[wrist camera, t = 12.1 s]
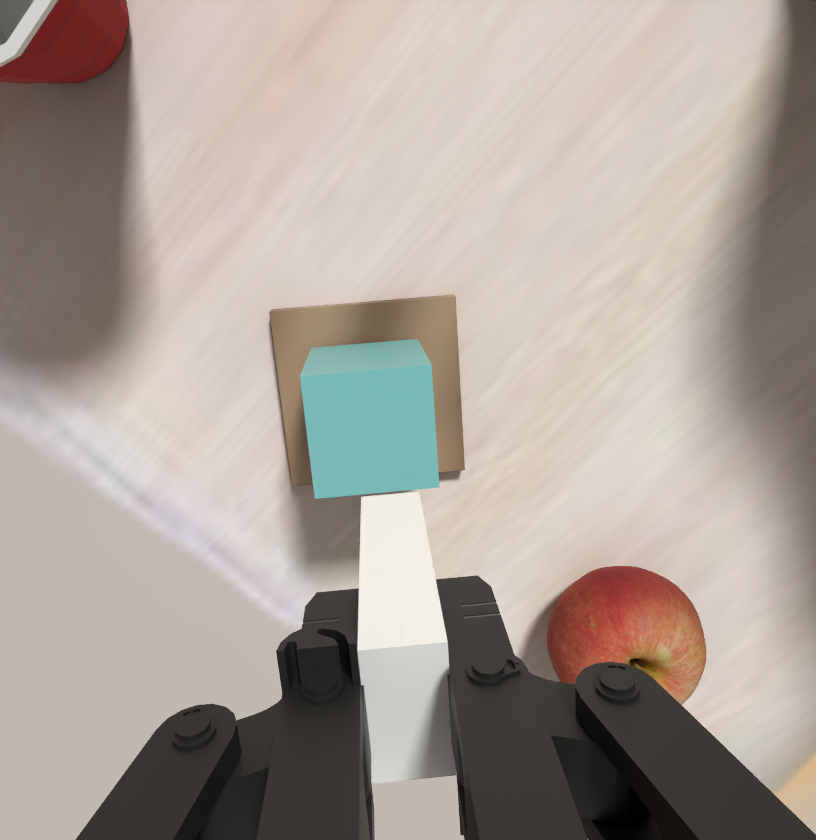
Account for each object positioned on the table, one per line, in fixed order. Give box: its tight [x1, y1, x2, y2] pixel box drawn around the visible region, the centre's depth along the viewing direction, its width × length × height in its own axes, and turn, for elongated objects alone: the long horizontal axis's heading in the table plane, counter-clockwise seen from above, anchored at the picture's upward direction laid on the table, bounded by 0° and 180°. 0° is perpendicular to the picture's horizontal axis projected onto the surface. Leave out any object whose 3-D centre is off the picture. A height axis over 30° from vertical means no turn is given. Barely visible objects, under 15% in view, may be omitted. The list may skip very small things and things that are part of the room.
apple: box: [547, 566, 706, 705], centre depth 35 cm, size 8×8×8 cm
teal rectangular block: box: [300, 339, 439, 499], centre depth 30 cm, size 5×5×7 cm
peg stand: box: [270, 295, 465, 486], centre depth 31 cm, size 9×9×7 cm
